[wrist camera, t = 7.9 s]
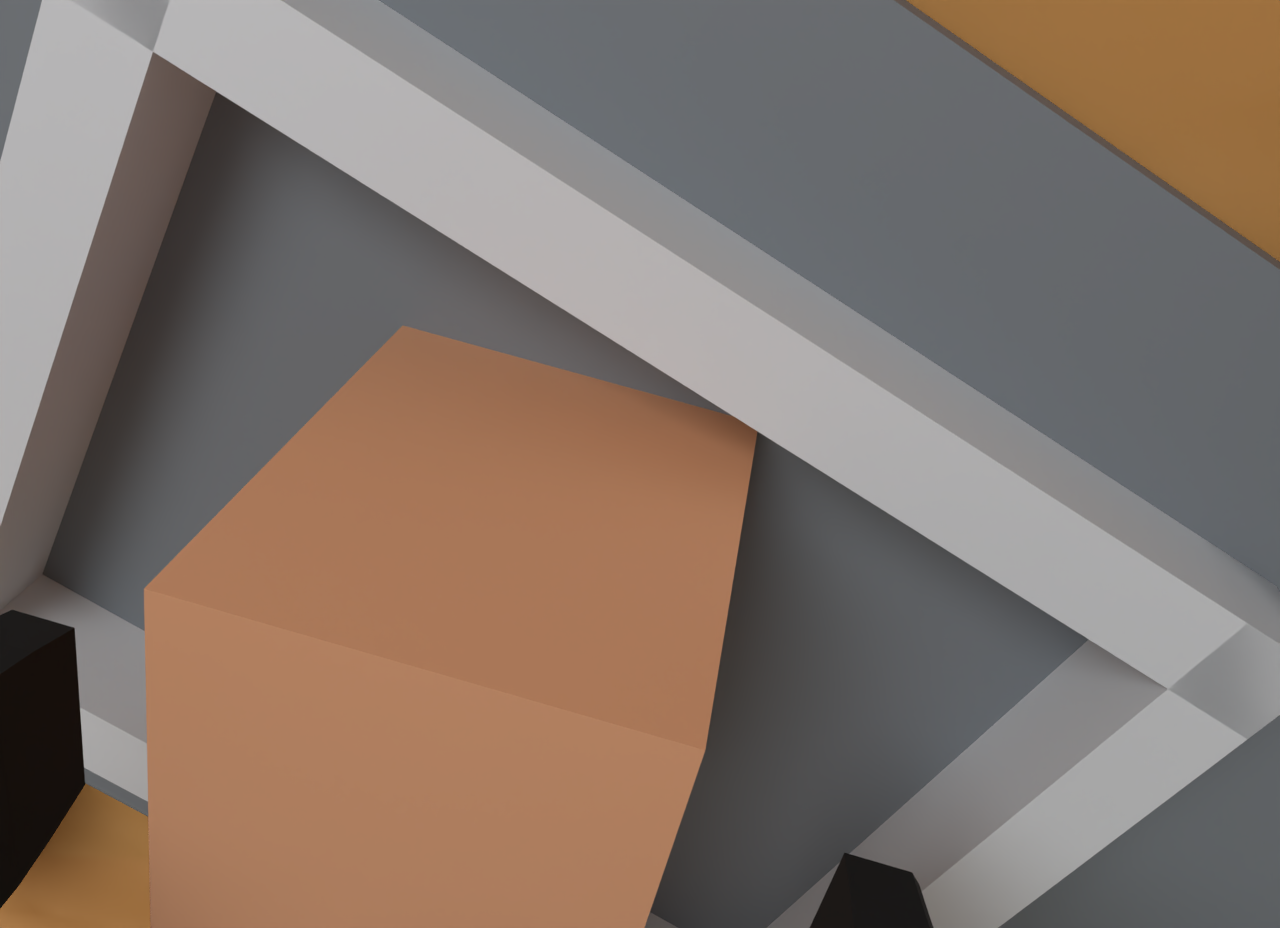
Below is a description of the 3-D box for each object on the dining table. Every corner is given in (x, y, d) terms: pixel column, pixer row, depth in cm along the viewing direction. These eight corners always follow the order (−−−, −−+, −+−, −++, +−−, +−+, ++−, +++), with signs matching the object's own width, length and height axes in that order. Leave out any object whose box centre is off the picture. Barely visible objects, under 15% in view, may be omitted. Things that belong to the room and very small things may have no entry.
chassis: (2010, 422, 10) (2583, 694, 7) (807, 1206, 20) (798, 1482, 17) (-101, -1173, 8) (-849, -1994, 4) (-317, 612, 18) (-603, 794, 14)
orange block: (758, 422, 12) (705, 750, 7) (656, 752, 14) (571, 1141, 10) (402, 324, 12) (143, 587, 7) (363, 668, 14) (152, 1014, 10)
